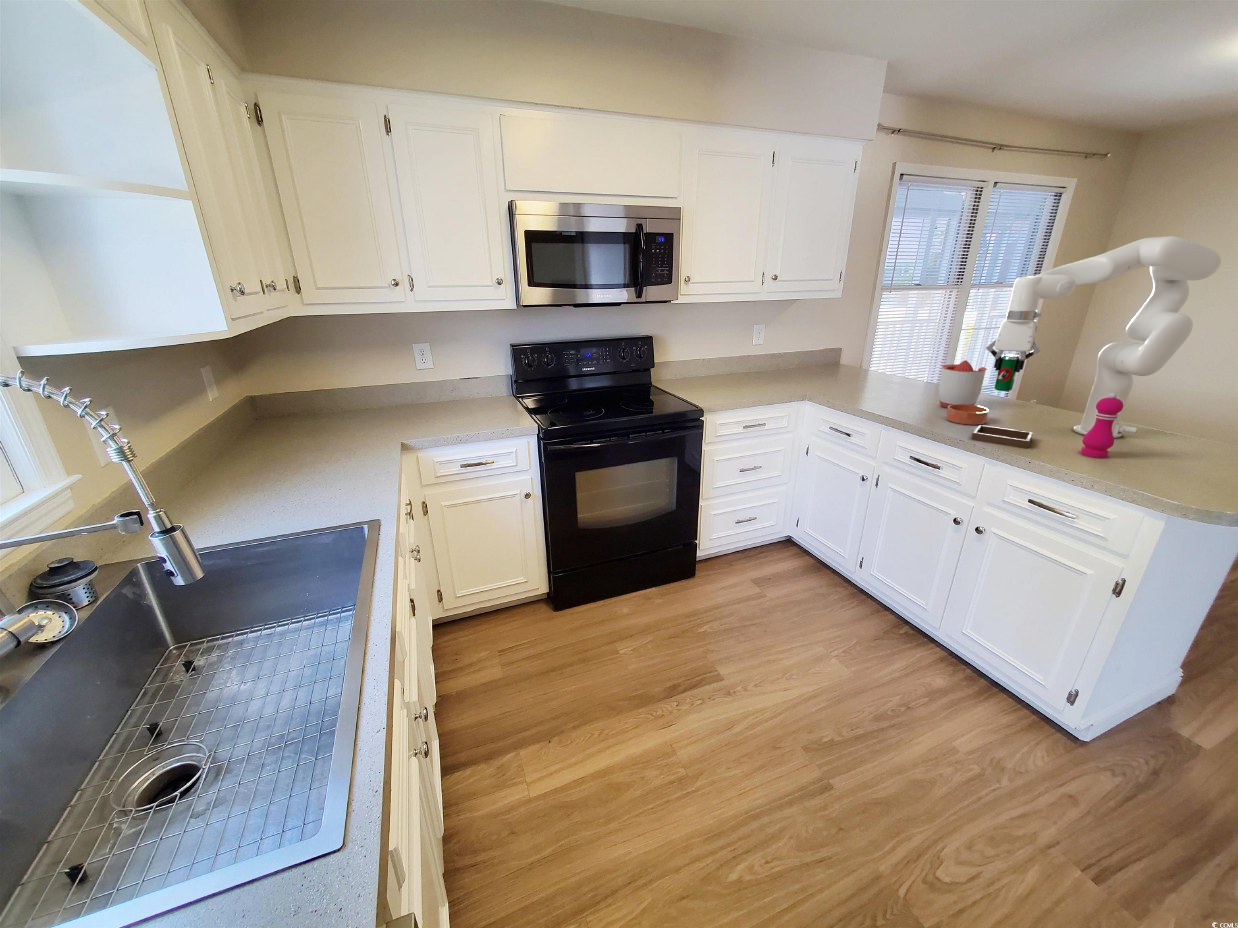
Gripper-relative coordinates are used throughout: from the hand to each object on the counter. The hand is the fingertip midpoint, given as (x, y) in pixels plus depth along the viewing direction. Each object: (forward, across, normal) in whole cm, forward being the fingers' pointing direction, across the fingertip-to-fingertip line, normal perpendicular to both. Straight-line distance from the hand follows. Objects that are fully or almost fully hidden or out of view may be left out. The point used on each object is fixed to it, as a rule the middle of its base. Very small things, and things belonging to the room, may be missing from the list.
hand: (1007, 370), depth 169 cm
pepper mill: (+24, -27, +6) cm, 36 cm away
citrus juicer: (+23, +18, -36) cm, 47 cm away
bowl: (+23, +11, -14) cm, 29 cm away
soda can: (+7, 0, 0) cm, 7 cm away
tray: (+23, -3, +5) cm, 24 cm away
